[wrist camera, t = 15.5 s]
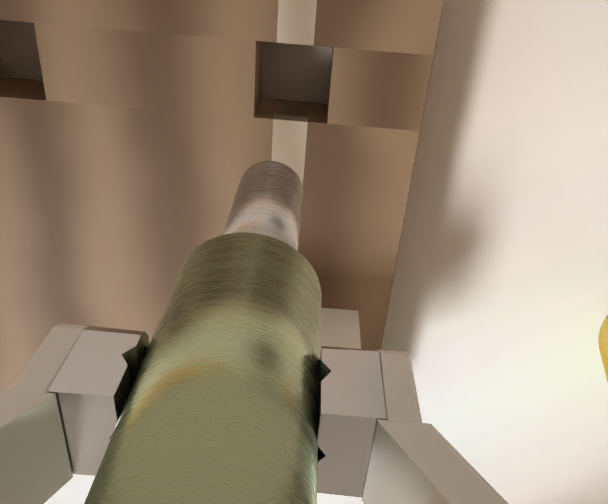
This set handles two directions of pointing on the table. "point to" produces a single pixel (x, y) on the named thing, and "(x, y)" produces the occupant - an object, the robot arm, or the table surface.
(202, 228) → the subfloor panel
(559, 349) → the table surface
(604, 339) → the plant pot
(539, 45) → the table surface
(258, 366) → the green bottle
